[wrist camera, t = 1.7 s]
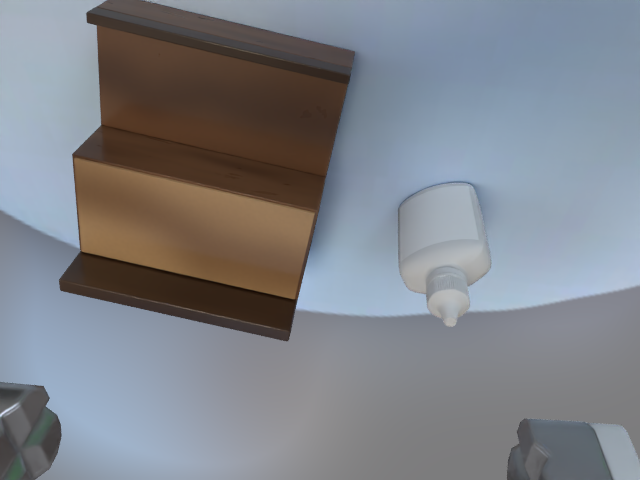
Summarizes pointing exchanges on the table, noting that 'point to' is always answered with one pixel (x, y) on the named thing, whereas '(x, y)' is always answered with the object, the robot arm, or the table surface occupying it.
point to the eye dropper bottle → (443, 247)
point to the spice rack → (204, 166)
